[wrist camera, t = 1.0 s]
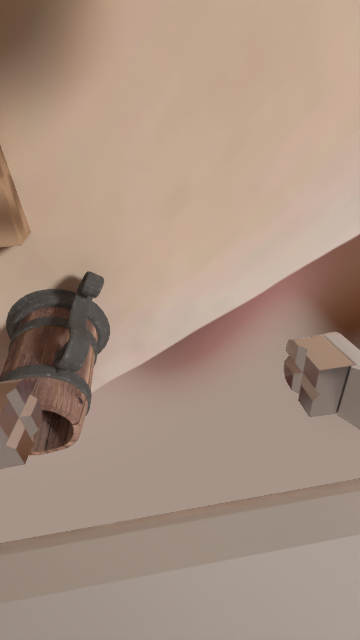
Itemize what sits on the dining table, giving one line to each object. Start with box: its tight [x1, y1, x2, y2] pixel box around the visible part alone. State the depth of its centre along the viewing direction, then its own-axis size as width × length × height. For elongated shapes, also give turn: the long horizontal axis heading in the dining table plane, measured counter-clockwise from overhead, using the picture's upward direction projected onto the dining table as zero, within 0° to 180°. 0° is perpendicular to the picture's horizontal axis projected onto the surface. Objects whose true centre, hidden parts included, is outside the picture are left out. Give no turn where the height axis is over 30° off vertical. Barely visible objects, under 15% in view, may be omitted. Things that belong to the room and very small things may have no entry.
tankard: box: [0, 271, 110, 455], centre depth 39 cm, size 24×17×20 cm
